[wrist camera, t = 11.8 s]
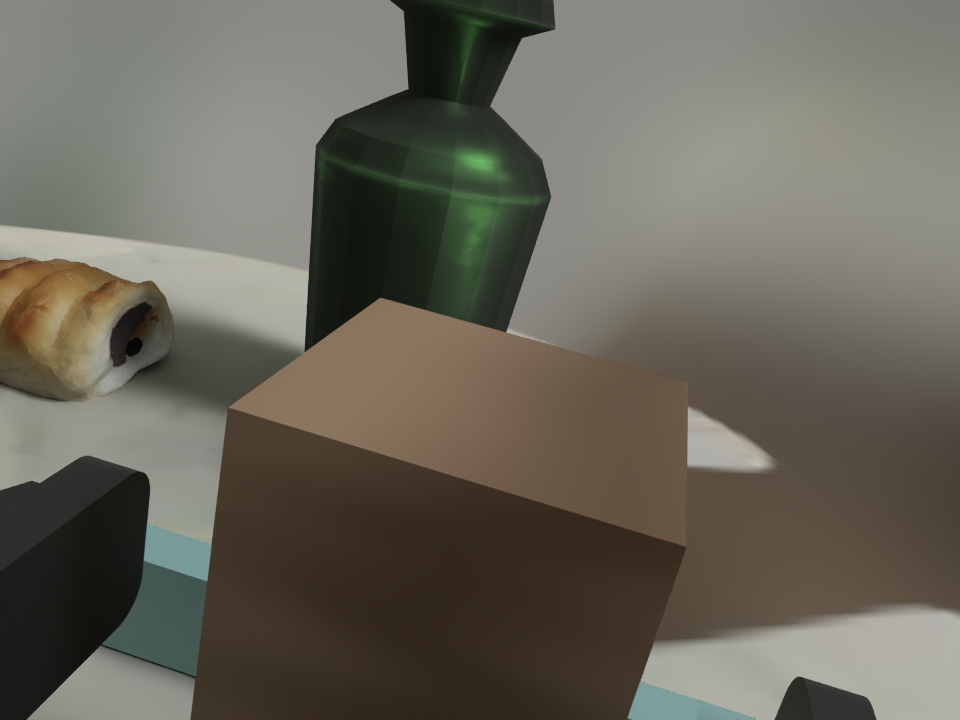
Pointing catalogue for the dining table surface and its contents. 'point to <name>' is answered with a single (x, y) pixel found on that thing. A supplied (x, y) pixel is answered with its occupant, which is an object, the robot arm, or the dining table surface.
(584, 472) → the walnut block
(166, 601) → the teal corner fixture
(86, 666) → the dining table surface
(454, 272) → the potion bottle
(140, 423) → the dining table surface
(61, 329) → the pastry
